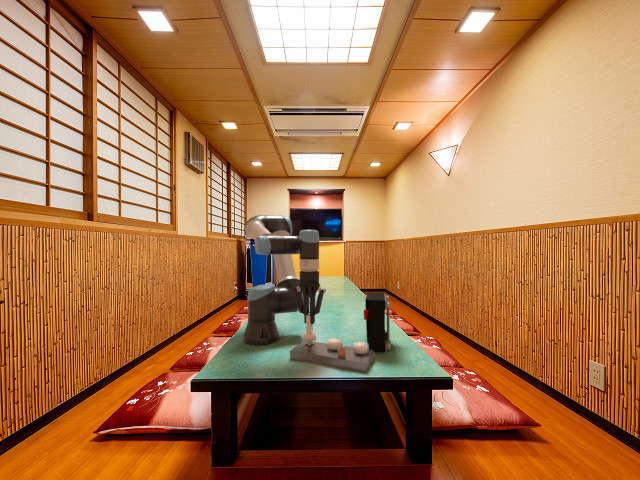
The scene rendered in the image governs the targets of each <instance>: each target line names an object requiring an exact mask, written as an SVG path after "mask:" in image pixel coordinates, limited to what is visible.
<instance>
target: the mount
mask: <svg viewBox="0 0 640 480" xmlns="http://www.w3.org/2000/svg"><path fill="white" fill-rule="evenodd" d="M343 347H345V358H339V357H338V349H337V350H331V349H328V348H327V342H326V343H325V342H320V341H318V342H317V341H312V347H310V346H307V341H304V340H303V341H302V342H300V343H299V344H297V345H296V346H294V347H293V348H291V349H290V350H289V359H290V360H295V361H299V362H300V361H301V362H306V363H311V364H317V365H323V366H329V367H334V368H339V369H345V370H352V371H356V372H362V373H367V372H368V370H369V368H370V366H371V365H372V363H373V362H374V360H375V352H374V350H369V349H368V352H367V353H365V354H363V355H362V354H358V353H355V352H354V351H353V346H346V345H343Z"/></svg>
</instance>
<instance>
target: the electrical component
mask: <svg viewBox="0 0 640 480" xmlns="http://www.w3.org/2000/svg"><path fill="white" fill-rule="evenodd" d="M364 301H365V302H364V303H365V305H364V306H365V309H363V320H365V326H366V328H365V329H366V335H365V337H366V341H368V350H374V353H377V354H386V353H387V352H388V350H391V349H392V347H391V343H390V341H391V340H390V337H391V336H390V307H391V302H390V295H387V294H386V293H384V292H369V291H368V292H366V297H365V300H364ZM385 314H386V315H385Z"/></svg>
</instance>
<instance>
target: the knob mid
mask: <svg viewBox="0 0 640 480" xmlns="http://www.w3.org/2000/svg"><path fill="white" fill-rule="evenodd" d="M326 341H327V342H326V343H327V348H328V349H331V350H337V349H338V347H340V342H341V339H339V338H338V337H337V338H336V337H334V338H333V337H331V338H328V339H326Z"/></svg>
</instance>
